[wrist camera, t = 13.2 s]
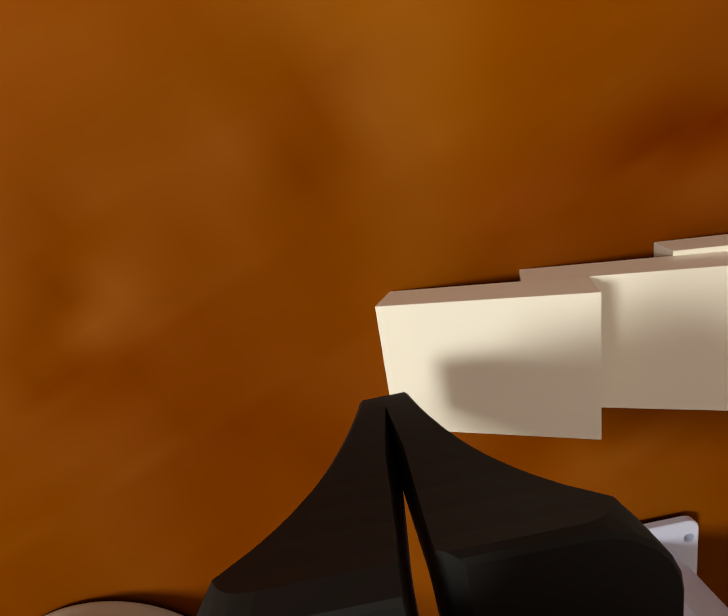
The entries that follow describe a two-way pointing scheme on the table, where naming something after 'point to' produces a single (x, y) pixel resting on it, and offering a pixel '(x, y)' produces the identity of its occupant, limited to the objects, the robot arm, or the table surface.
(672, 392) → the tile
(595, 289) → the tile
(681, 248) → the tile
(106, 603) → the jar
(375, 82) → the table surface
